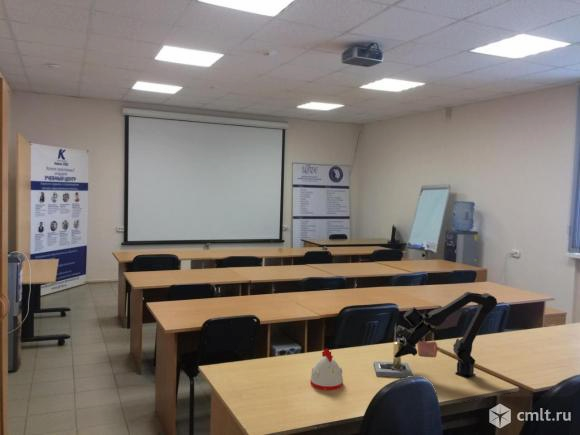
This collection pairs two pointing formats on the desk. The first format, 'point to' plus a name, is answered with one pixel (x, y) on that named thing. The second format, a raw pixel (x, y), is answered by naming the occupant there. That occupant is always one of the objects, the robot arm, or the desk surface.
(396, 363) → the brass peg
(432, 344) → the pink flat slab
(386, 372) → the square frame
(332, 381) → the kitchen timer
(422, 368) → the desk surface
